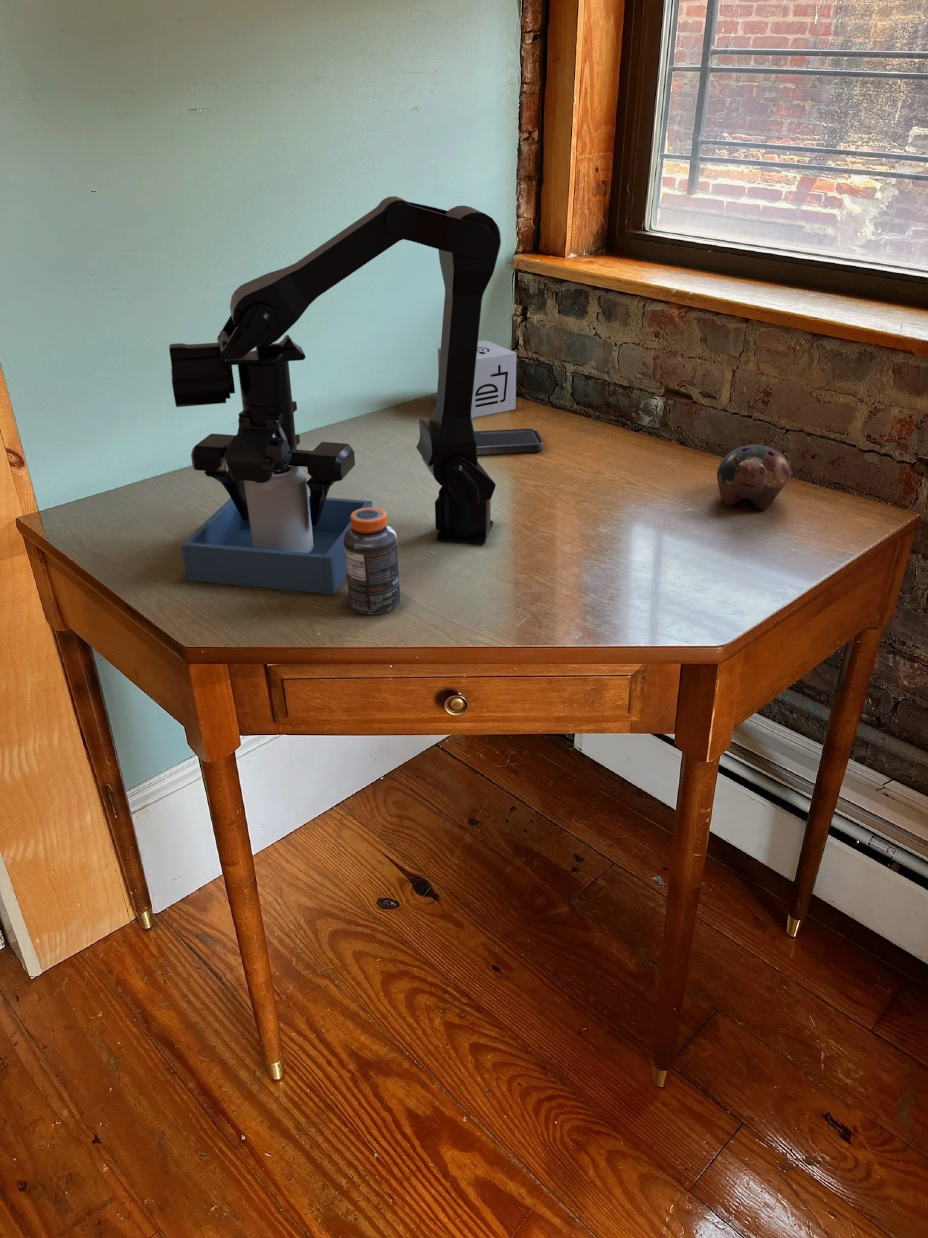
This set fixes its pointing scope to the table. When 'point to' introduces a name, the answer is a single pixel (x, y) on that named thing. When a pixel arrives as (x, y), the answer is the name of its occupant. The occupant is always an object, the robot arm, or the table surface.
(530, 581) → the table surface
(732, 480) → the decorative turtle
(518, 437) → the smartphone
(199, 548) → the tub
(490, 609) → the table surface
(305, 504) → the can
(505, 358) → the icon cube
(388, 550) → the pill bottle
